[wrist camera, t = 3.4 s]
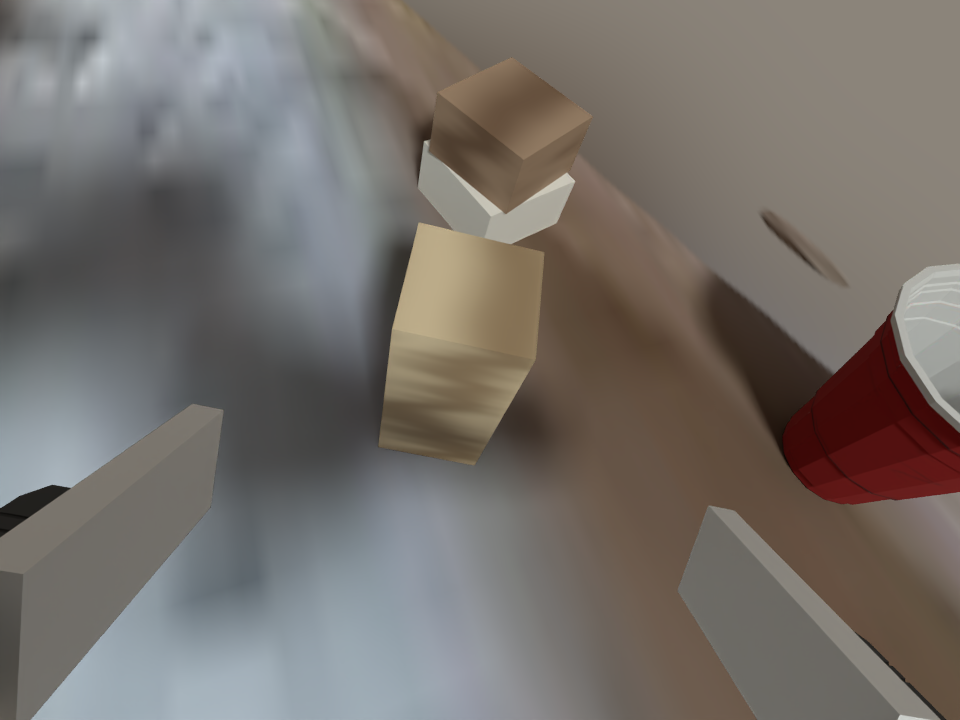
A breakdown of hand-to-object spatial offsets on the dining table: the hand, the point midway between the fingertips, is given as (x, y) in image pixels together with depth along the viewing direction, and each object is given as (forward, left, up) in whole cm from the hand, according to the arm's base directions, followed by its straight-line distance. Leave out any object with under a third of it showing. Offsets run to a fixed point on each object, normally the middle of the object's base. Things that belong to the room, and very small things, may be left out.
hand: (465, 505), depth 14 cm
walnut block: (-17, +18, -9) cm, 26 cm away
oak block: (-6, +5, -12) cm, 15 cm away
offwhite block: (-17, +18, -13) cm, 28 cm away
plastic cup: (+9, +23, -13) cm, 28 cm away
